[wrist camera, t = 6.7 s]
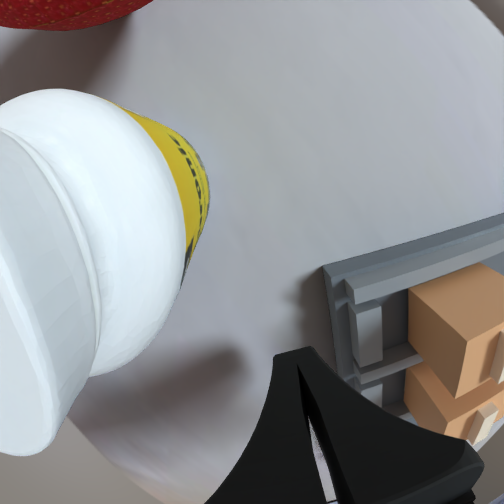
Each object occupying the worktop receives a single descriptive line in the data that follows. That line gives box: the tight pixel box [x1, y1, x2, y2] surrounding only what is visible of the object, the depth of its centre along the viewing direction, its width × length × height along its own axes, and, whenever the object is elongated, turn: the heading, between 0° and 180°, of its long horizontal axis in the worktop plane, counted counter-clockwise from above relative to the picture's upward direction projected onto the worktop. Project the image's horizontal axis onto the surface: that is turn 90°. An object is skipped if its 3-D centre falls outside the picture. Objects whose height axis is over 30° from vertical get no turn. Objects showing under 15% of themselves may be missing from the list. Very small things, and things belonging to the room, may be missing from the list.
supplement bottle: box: [0, 89, 210, 456], centre depth 6 cm, size 5×5×10 cm
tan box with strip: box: [403, 361, 504, 445], centre depth 10 cm, size 3×4×5 cm, turn 104°
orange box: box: [408, 262, 504, 399], centre depth 9 cm, size 3×4×5 cm, turn 104°
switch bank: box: [322, 213, 504, 426], centre depth 13 cm, size 13×18×2 cm
